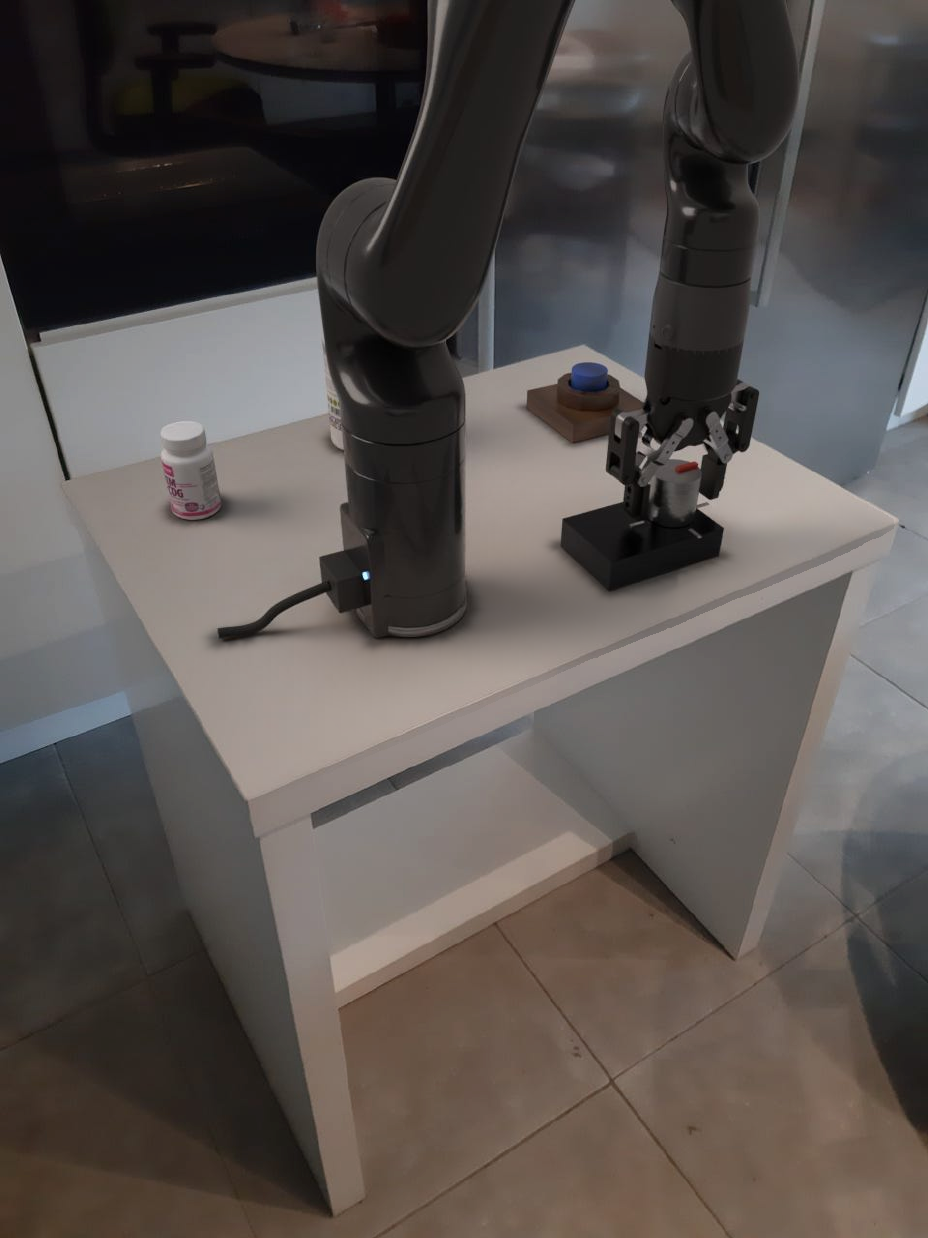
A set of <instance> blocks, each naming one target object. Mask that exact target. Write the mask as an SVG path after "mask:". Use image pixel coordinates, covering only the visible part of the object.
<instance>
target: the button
mask: <svg viewBox="0 0 928 1238" xmlns="http://www.w3.org/2000/svg"><path fill="white" fill-rule="evenodd" d="M571 372H572V373H571ZM571 372H570V373H571V387H572V388H573V389H576V390H580V391H583V392H597V391H602V390H605V389H606V386H607V376H608V374H609V369H608V366H606V365H604V364H601V363H598V362H591V361H585V362H579V363H576V364H574V365H573V366H571Z"/></svg>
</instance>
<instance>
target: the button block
mask: <svg viewBox="0 0 928 1238" xmlns="http://www.w3.org/2000/svg"><path fill="white" fill-rule="evenodd" d="M571 373H572V371H571V372H567V373H564V374H563V375H562V376H560V377H559V378H557V383H554V384H550V385H544V386H541V387H536V388H532V389H528V390H526V409H527V410H529V411H530V412H531V413H532V414H534V415H535V416H536V417H538V418H539V419H540V420H541V421H543V422H544V423H545V424H547V425H548V426H549V427H551V428H552V429H554V431H556V432H557V433H559V434H560V435H561V436H562V437H564V438H565V439H566V440H568V441H569V442H570V443H571V444H574V443H578V442H582V441H587V440H590V439H594V438H598V437H602V436H606V435H607V436H608V435H609V428H610V417H611V414H612V412H613V411H614V410H616V409H621V410H622V411H624V412H626V413H628V412H632V411H636V410H640V409H641V407H642V405H643V403H644V401H643V400H641V399H639V398H638V397H636V396H634V395H633V394H632V393H629V392H628V391H627V390H625V389H624V388H622V387H621V385H620V380H619V379H618V378H615V377H614V376H612V375H611V374H609V373H608V376H607V386H606V389H605V390H602V391H597V392H583V391H580V390H576V389H573V388H572V387H571Z"/></svg>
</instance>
